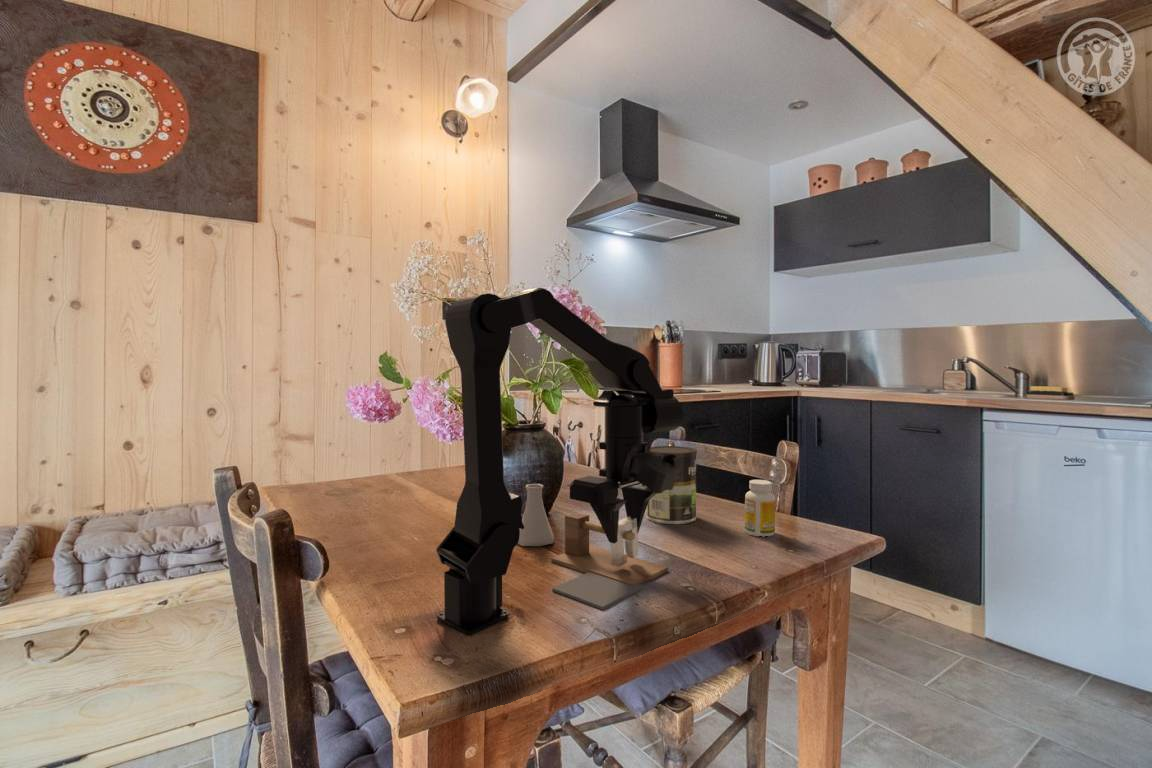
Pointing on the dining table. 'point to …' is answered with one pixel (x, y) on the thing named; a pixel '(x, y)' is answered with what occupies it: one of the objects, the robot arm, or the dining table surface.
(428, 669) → the dining table surface
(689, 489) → the coffee can
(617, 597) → the slate coaster
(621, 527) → the slotted rectangular block
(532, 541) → the flask
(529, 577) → the dining table surface
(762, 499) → the supplement bottle
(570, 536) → the link stand
